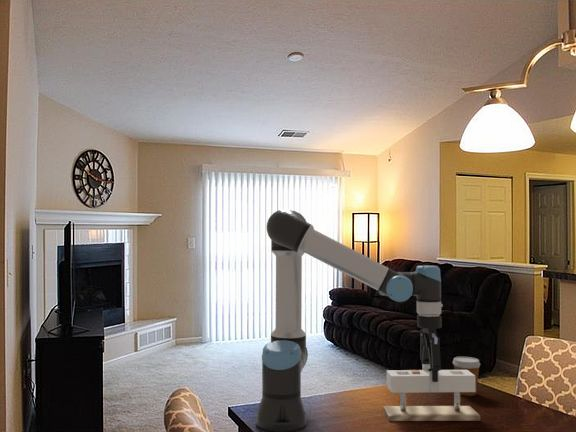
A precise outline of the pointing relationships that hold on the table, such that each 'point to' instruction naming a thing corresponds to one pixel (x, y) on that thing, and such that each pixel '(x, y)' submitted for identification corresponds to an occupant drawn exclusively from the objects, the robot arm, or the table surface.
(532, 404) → the table surface
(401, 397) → the chrome knobs
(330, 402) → the table surface
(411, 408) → the hanger board
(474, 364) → the disposable coffee cup
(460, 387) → the power strip
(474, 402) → the table surface
